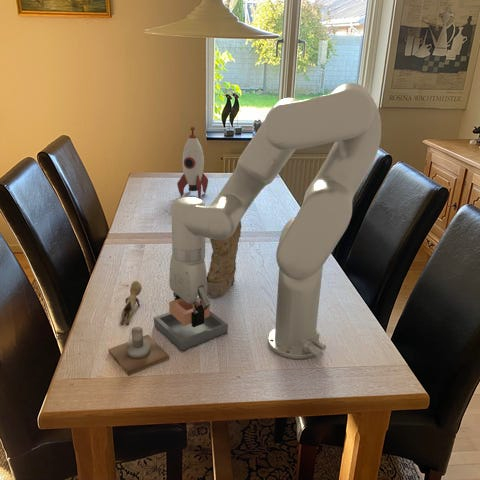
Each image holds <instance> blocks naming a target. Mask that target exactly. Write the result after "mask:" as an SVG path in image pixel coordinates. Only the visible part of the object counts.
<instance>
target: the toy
mask: <svg viewBox="0 0 480 480" xmlns="http://www.w3.org/2000/svg"><path fill="white" fill-rule="evenodd" d="M195 129H196V128H195V126H191V127H190V131H191V134H190V135H189V136H188V139H187V140H186V142H185V144H184V146H183V150H182V160H181V161H182V162H181V163H182V164H181V165H182V171H183V174H182V176H181V177H180V178H179V180H178V181H177V189H178V193H179V195H180V196H181V197H180V198H182V197H183V195H184V194H185V193H184V192H185V190H184V189H185V187H186V186H188V191H189V192H197V196H198V197H197V198H199V199H201V197H202V196H201V195H202V192H203V193H204V194H206V192H207V190H208V185H209V179H208V177H207V176H206V175H205V174H204V169H205V168H204V167H205V157H204V150H203V148H202V145H201V142H200V141H199V139H198V138H197V136H196V134H195V132H194V131H195Z"/></svg>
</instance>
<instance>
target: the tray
mask: <svg viewBox="0 0 480 480" xmlns="http://www.w3.org/2000/svg"><path fill="white" fill-rule="evenodd" d="M191 309H193V308H191ZM188 310H190V309H188ZM186 311H187V310H186ZM153 325H154V328H155V329H156V330H157V331H159V333H161V334H162V335H163V336H164V337H165V338H166V339H167V340H168V341H169V342H170V343H171V344H172V345H173V344H174V345H175V346H176V347H177V348H176V347H175V346H174V345H173V346H174V347H175V348H176V349H177V350H179V351H180V352H181V353H184V352H187V351H188V349H189V350H191V349H194V348H196V347H198V345H199V346H200V345H203V343H204V344H206V343H208V342H211V341H213V340H216V339H218V338H220V336H221V337H223V336H225V335H227V334H228V333H229V332H228V329H229V323H227V322H225V321H224V320H222V318H220V317H219V316H217V315H216V314H215V313H213V312H212V311H211V310H210V314H209V317H207V318H205V319H204V324H202V325H199V326H196V327H192V323H191V324H188V325H186V326H184V325H183V324H182V323H181V322H180V321H178V320H177V319H176V318H175V317H174V316H173V315H172V314H171V313H169V312H166V313H163V314H160V315H157V316H154V317H153ZM222 335H223V336H222ZM215 338H216V339H215ZM210 340H211V341H210ZM193 347H194V348H193ZM190 348H191V349H190Z"/></svg>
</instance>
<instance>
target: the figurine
mask: <svg viewBox="0 0 480 480" xmlns="http://www.w3.org/2000/svg"><path fill="white" fill-rule="evenodd" d="M142 289H143V288H142V285H141V283H140V282H139V281H138V280H134V281H132V282H131V284H130V289H129V293H130V294H129V296H128V297H126V298H125V306H124V308H123V310H122V312H121V313H122V314H121V319H120V325H121V324H123V325H124V321H125V319H126V317H127V319H126V322H125V324H126V325H127V326H129V325H130V322H131V319H132V318H133V317H132V316H133V311H134V309H135V306H136V304H137V306H138V307H140V306H141V304H140V299H139V298H138V297H137V296H139V294H141V292H142Z"/></svg>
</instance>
